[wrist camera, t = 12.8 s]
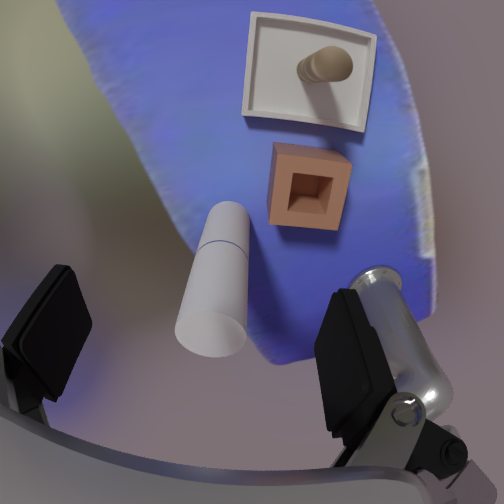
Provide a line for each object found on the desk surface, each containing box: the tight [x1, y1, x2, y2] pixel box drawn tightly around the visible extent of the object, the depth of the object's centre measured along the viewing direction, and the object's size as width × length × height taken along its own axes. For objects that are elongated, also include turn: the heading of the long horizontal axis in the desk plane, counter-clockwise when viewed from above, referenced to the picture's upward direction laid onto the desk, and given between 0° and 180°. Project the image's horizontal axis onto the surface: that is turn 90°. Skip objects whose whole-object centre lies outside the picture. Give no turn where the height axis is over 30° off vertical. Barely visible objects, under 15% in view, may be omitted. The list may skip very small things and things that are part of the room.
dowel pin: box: [297, 46, 353, 83], centre depth 28 cm, size 4×4×13 cm
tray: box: [242, 12, 377, 133], centre depth 33 cm, size 16×18×2 cm
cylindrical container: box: [175, 201, 250, 357], centre depth 38 cm, size 7×7×25 cm
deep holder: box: [267, 142, 353, 231], centre depth 40 cm, size 10×10×8 cm
